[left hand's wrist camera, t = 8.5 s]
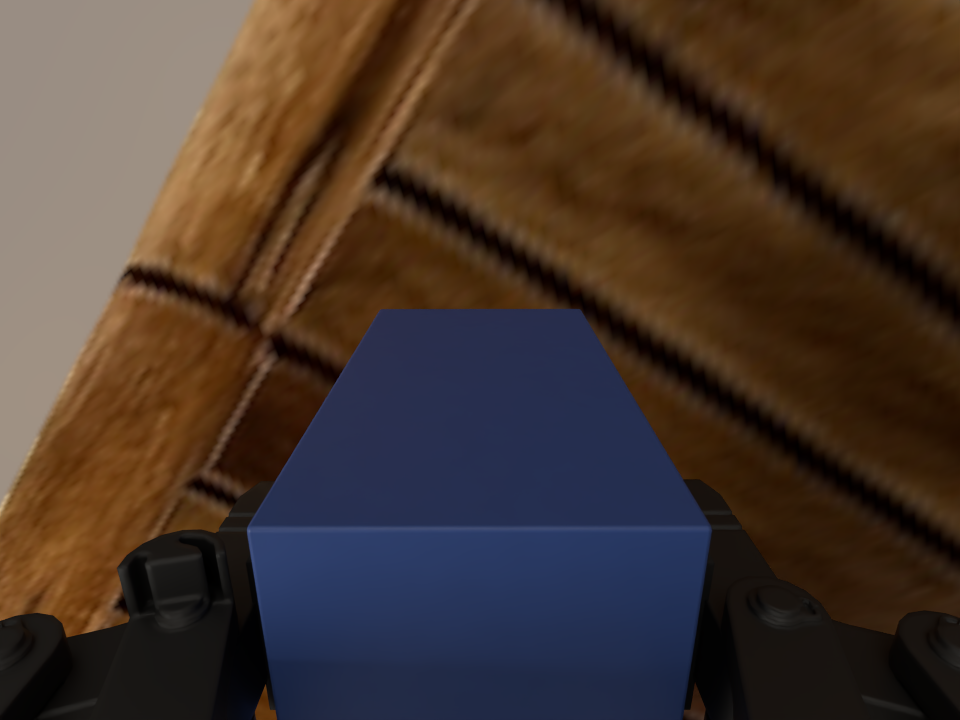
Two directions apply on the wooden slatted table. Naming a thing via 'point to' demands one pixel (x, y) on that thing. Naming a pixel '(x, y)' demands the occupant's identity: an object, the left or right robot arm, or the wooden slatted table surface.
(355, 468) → the bar
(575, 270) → the wooden slatted table surface
